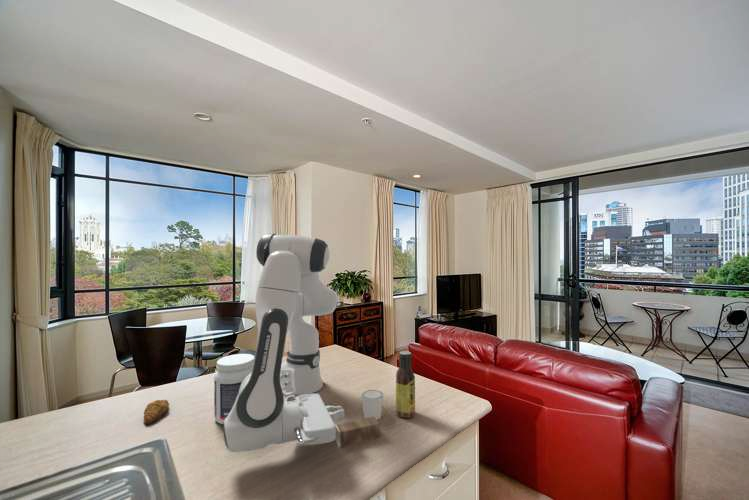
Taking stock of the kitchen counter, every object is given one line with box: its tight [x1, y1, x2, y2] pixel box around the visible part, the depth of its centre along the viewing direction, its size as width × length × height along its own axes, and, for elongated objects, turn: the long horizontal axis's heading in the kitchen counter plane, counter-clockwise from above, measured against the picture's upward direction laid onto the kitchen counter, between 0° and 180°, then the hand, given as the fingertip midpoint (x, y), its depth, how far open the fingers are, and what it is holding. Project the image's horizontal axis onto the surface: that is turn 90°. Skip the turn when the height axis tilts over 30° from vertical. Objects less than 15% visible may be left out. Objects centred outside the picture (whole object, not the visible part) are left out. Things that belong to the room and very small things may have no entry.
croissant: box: [143, 399, 170, 425], centre depth 101 cm, size 14×7×5 cm, turn 16°
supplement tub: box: [213, 353, 255, 425], centre depth 100 cm, size 13×13×18 cm
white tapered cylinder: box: [361, 389, 384, 421], centre depth 100 cm, size 7×7×7 cm
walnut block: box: [334, 417, 381, 448], centre depth 88 cm, size 4×4×12 cm
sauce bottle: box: [395, 350, 416, 419], centre depth 101 cm, size 6×6×20 cm
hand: (343, 410), depth 86 cm, fingers closed
